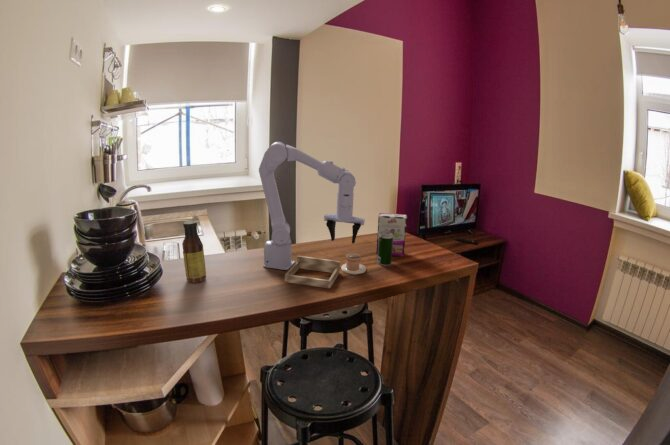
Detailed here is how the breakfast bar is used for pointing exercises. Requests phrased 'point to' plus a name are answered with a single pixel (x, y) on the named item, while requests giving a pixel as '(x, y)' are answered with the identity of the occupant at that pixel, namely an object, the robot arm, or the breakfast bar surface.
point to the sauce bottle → (193, 254)
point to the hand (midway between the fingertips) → (343, 241)
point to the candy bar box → (393, 231)
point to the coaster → (360, 271)
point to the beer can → (385, 248)
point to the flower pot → (352, 262)
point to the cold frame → (315, 265)
